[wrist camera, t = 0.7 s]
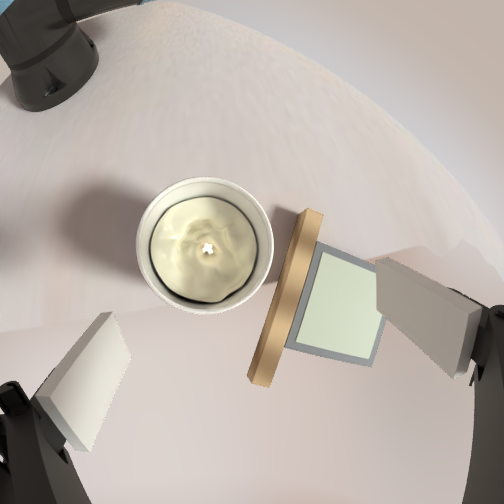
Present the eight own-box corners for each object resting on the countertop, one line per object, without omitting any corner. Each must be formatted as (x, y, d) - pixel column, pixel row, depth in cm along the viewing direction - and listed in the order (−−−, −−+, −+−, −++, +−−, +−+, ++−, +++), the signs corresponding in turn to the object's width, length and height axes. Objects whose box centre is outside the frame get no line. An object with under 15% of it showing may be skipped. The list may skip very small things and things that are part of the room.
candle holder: (261, 273, 32) (299, 265, 20) (187, 320, 30) (182, 341, 18) (216, 200, 32) (228, 154, 20) (142, 244, 30) (112, 219, 18)
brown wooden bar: (298, 214, 34) (307, 207, 31) (313, 220, 34) (323, 214, 31) (246, 375, 30) (251, 383, 27) (262, 379, 30) (269, 387, 27)
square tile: (315, 242, 34) (317, 241, 33) (393, 275, 36) (397, 274, 35) (282, 346, 31) (285, 347, 31) (368, 366, 33) (371, 367, 32)
